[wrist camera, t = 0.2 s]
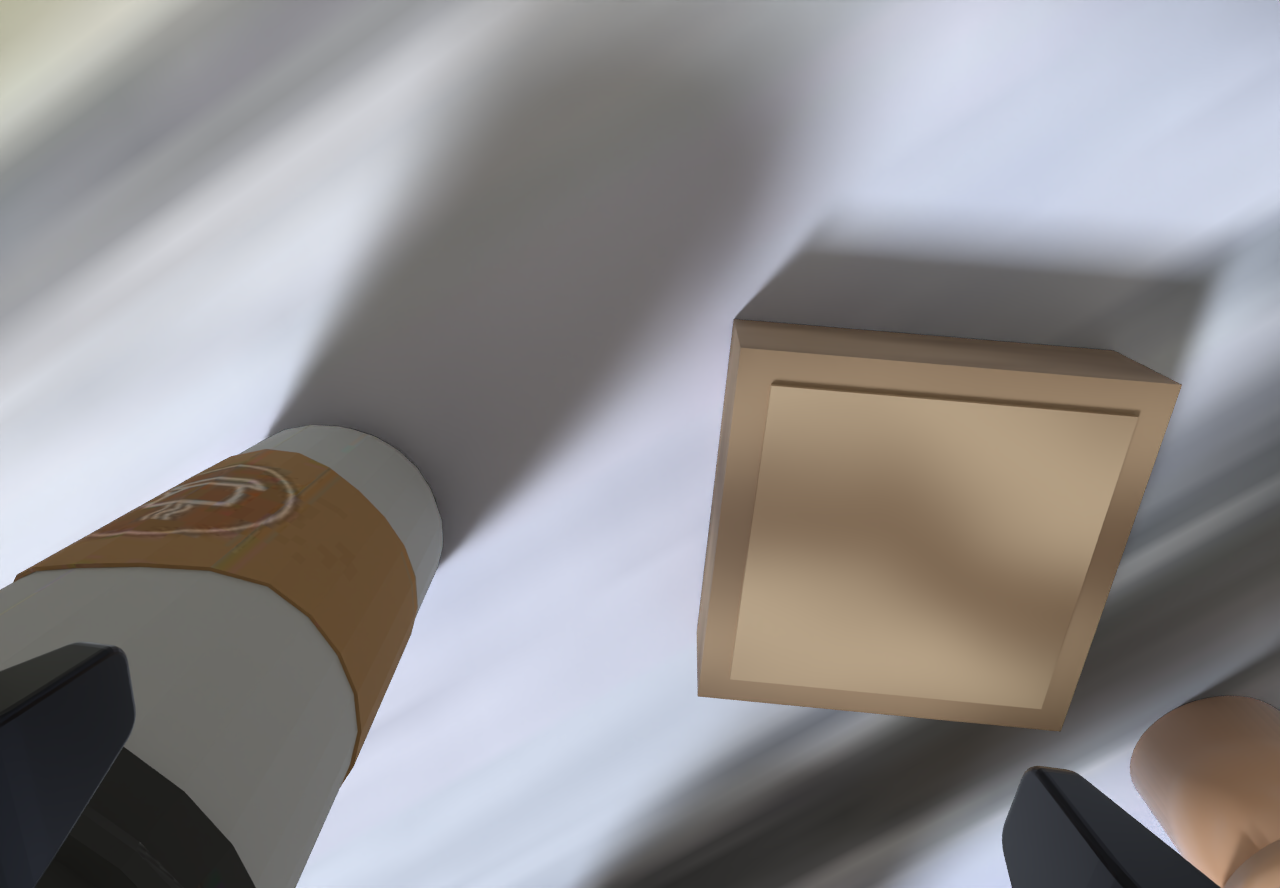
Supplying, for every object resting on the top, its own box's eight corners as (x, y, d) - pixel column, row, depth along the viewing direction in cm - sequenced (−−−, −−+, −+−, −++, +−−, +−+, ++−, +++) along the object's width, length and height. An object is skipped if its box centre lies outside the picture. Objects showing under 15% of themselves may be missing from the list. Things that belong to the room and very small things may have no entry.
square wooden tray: (1017, 662, 24) (1062, 735, 21) (696, 632, 24) (698, 700, 21) (1113, 350, 20) (1186, 386, 17) (733, 318, 21) (741, 349, 18)
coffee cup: (456, 375, 22) (38, 810, 8) (500, 626, 25) (255, 1260, 11) (175, 392, 22) (-675, 818, 8) (251, 634, 25) (-280, 1240, 11)
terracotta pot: (1267, 830, 26) (1425, 1020, 20) (1098, 813, 26) (1209, 997, 21) (1335, 697, 24) (1531, 868, 18) (1151, 679, 24) (1291, 844, 18)
